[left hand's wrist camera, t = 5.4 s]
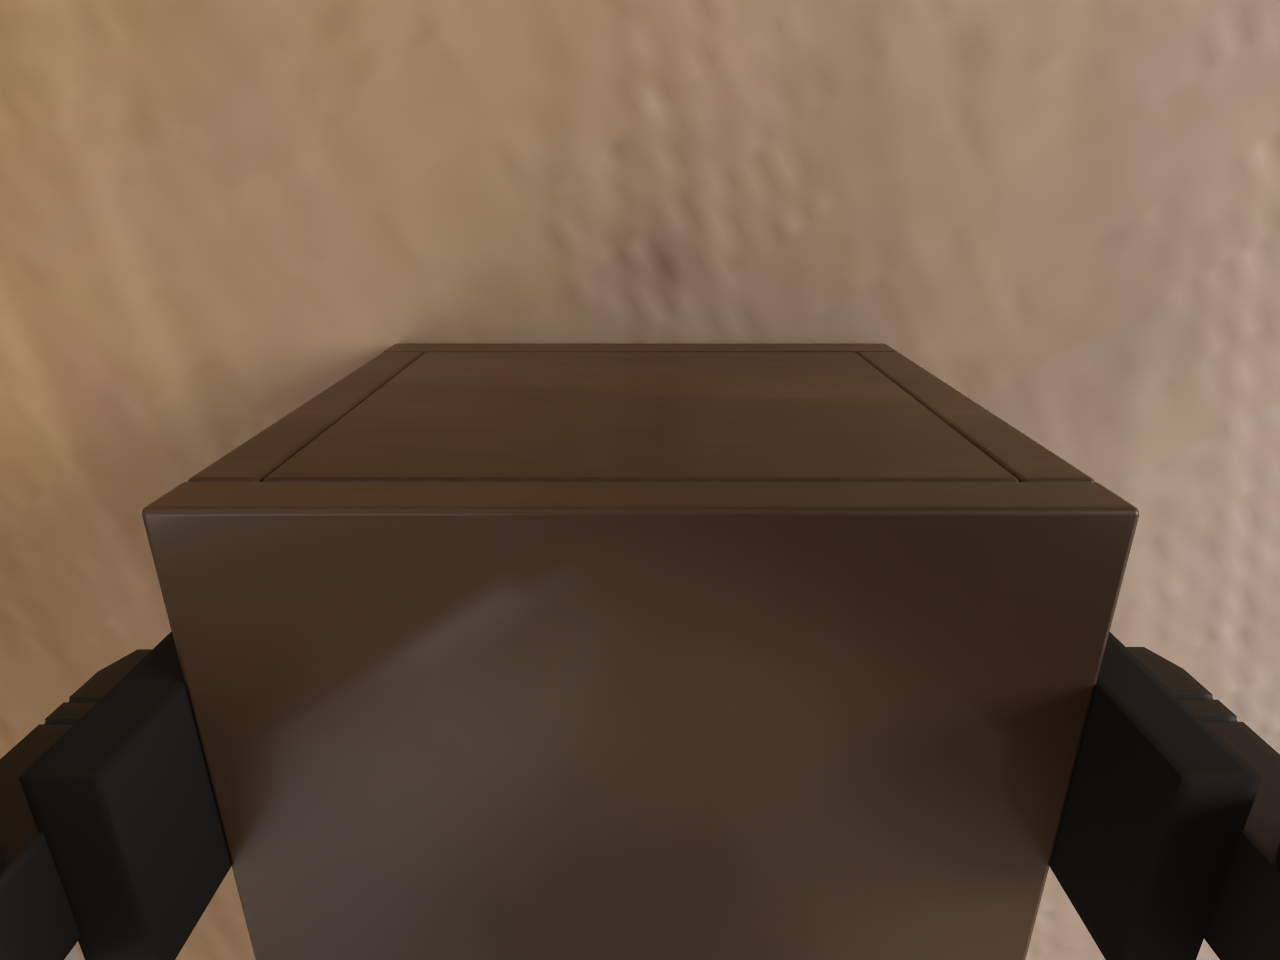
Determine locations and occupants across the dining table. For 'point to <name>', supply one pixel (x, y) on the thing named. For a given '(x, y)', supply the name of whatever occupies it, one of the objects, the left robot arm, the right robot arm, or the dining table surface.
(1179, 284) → the dining table surface
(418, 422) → the cabinet
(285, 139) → the dining table surface
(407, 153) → the dining table surface
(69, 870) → the left robot arm
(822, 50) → the dining table surface
